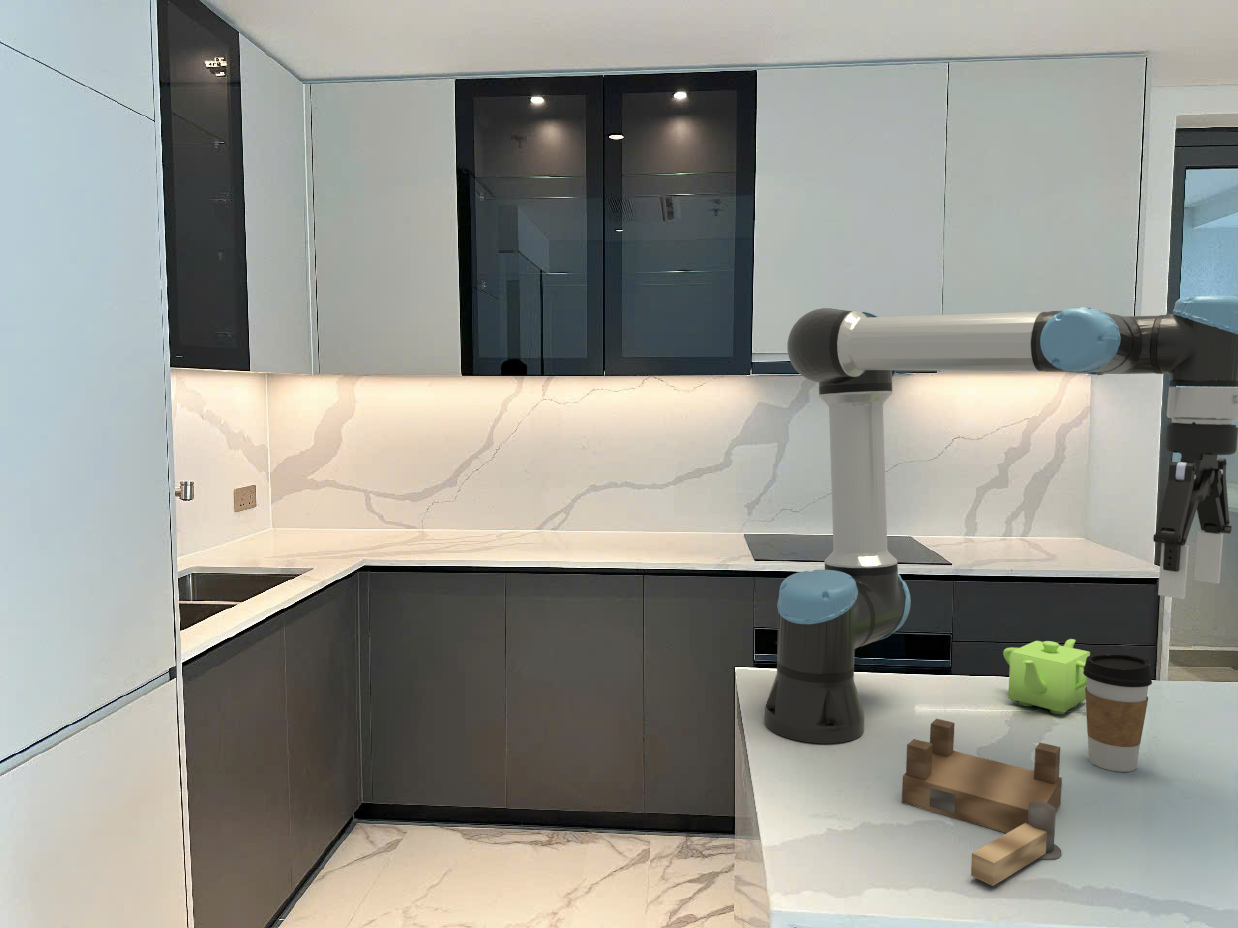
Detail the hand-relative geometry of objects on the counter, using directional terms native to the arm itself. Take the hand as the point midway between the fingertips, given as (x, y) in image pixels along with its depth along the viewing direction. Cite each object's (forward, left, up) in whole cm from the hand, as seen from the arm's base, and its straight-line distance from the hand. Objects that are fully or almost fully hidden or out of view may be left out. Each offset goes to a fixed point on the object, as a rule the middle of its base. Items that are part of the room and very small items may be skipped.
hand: (1189, 589), depth 112 cm
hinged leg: (-12, -31, -27) cm, 43 cm away
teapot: (-21, +26, -27) cm, 43 cm away
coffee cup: (-8, +6, -27) cm, 29 cm away
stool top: (-18, -20, -27) cm, 38 cm away
